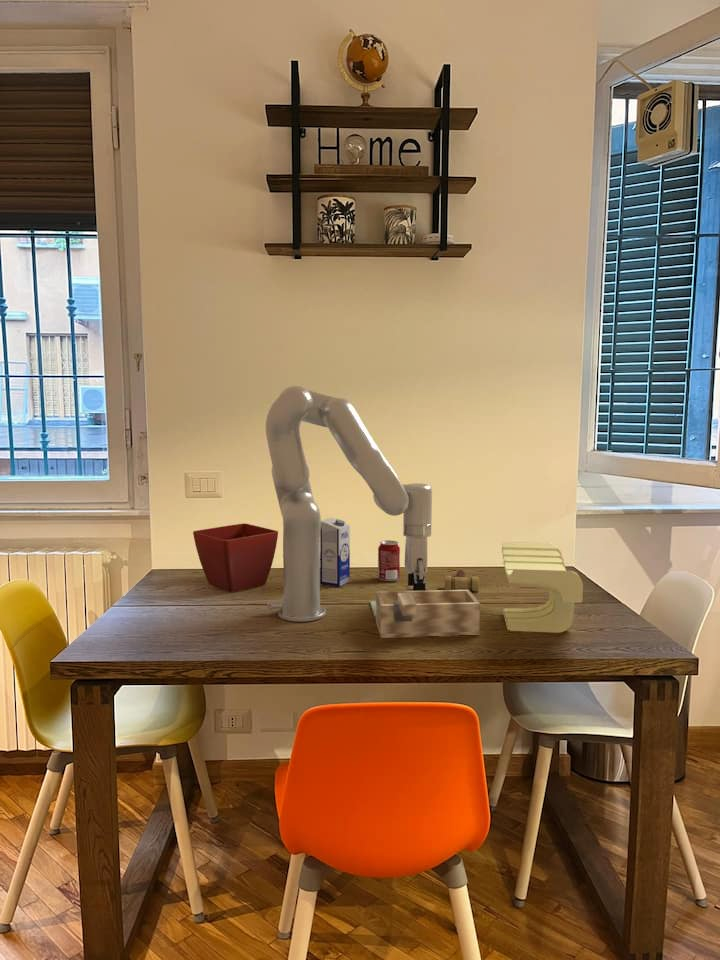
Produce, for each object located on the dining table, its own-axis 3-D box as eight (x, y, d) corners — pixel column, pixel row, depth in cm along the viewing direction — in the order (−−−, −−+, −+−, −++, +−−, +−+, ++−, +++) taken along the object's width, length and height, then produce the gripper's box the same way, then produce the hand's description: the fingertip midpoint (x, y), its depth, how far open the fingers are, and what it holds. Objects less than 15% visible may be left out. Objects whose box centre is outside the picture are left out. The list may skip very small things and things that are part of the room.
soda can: (400, 582, 219) (400, 544, 217) (378, 582, 219) (378, 544, 217) (398, 576, 225) (399, 539, 224) (377, 576, 225) (377, 539, 224)
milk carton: (331, 579, 222) (330, 516, 220) (350, 581, 219) (350, 518, 217) (319, 584, 216) (319, 520, 214) (339, 587, 213) (339, 522, 211)
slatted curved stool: (580, 645, 165) (583, 571, 163) (511, 642, 167) (513, 569, 165) (559, 606, 195) (561, 543, 193) (500, 604, 197) (502, 541, 195)
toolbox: (382, 642, 167) (382, 604, 166) (376, 621, 182) (376, 586, 181) (482, 639, 169) (483, 602, 168) (467, 619, 184) (468, 585, 183)
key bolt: (402, 615, 157) (403, 604, 157) (397, 603, 166) (397, 593, 166) (416, 615, 157) (416, 604, 157) (410, 603, 166) (410, 592, 166)
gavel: (445, 564, 230) (476, 565, 229) (445, 578, 230) (476, 579, 229) (444, 577, 209) (478, 578, 208) (444, 592, 209) (478, 593, 208)
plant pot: (192, 584, 216) (191, 530, 214) (245, 573, 229) (244, 522, 227) (226, 598, 202) (224, 540, 200) (280, 585, 215) (279, 531, 213)
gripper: (399, 523, 198) (398, 583, 200) (408, 536, 181) (407, 602, 183) (425, 523, 199) (424, 583, 201) (437, 536, 182) (435, 601, 184)
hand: (416, 592), depth 192 cm, fingers open, 8 cm apart
